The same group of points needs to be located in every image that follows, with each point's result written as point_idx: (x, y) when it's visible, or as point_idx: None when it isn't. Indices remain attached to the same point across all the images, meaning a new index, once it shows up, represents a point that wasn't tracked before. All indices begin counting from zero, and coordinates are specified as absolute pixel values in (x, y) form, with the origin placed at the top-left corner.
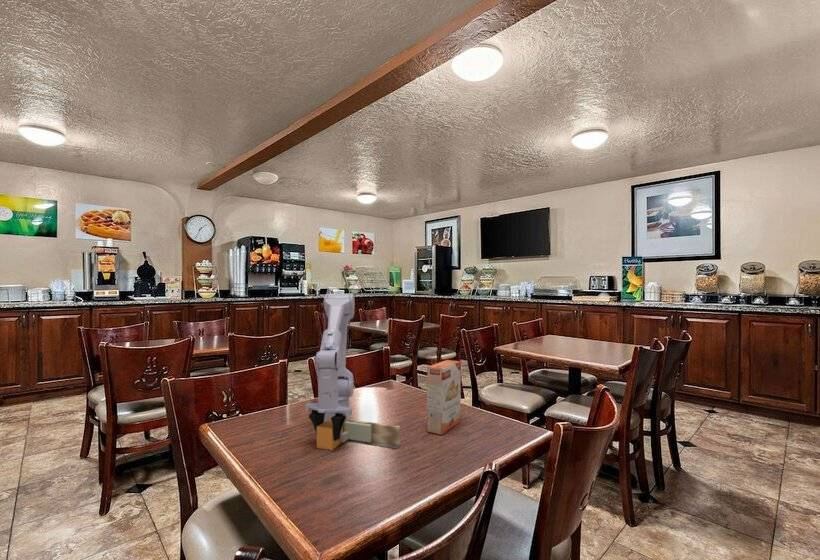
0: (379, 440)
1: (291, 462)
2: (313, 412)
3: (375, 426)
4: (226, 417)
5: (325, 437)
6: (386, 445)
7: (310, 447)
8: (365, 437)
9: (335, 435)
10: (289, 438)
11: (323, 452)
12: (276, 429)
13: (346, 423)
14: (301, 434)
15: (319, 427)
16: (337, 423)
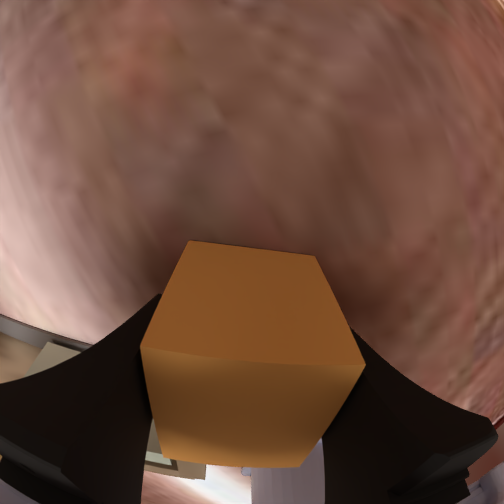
0: (26, 353)
1: (378, 25)
2: (448, 489)
3: None
4: None
5: (239, 291)
6: (2, 325)
7: (357, 251)
8: (57, 362)
9: (137, 312)
10: (470, 319)
11: (231, 194)
12: (499, 360)
13: (152, 448)
14: (429, 366)
15: (328, 361)
16: (28, 378)
